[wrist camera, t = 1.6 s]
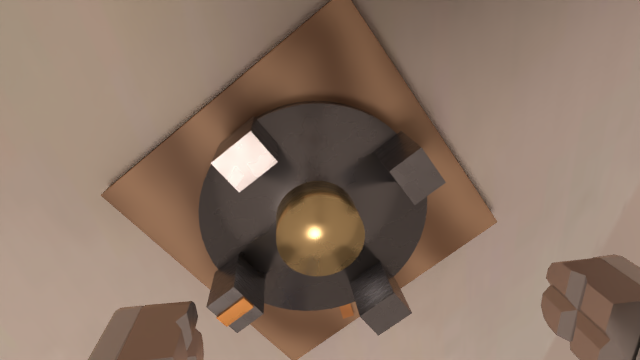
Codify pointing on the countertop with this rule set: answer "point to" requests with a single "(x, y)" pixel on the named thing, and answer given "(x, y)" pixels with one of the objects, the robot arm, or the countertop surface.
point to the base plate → (281, 89)
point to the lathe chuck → (313, 214)
